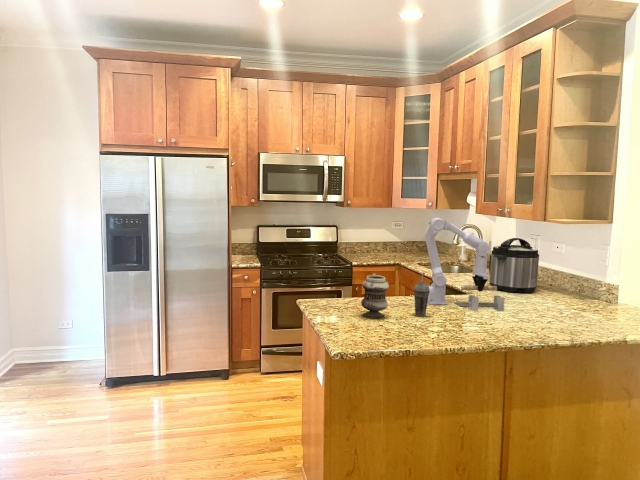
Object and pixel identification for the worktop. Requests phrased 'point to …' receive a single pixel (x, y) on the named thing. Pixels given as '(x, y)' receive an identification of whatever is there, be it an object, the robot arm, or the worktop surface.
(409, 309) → the worktop surface
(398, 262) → the worktop surface
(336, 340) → the worktop surface
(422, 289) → the beverage cup
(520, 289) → the pressure cooker
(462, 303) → the mat
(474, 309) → the hook stands
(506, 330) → the worktop surface
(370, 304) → the apothecary jar
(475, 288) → the rail
